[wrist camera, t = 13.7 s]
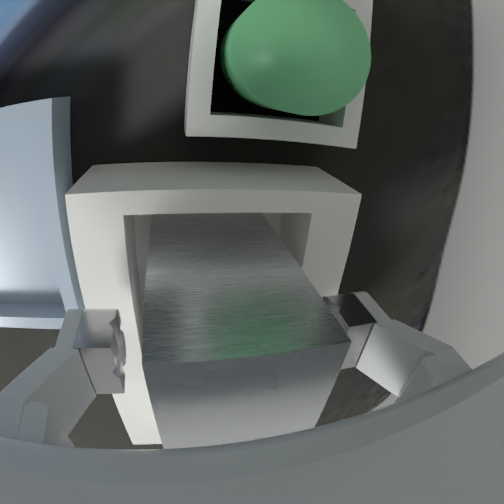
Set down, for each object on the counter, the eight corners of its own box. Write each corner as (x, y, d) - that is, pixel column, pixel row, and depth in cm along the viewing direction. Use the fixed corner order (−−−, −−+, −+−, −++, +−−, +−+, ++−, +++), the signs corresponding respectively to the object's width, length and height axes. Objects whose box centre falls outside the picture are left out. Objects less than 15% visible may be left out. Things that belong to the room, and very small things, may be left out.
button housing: (198, -19, 8) (203, -38, 6) (346, 8, 10) (372, 0, 8) (183, 129, 11) (186, 136, 9) (331, 139, 12) (356, 149, 11)
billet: (152, 212, 11) (141, 364, 5) (260, 211, 12) (351, 341, 6) (158, 304, 13) (167, 459, 7) (251, 299, 14) (307, 439, 8)
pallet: (92, 165, 11) (64, 194, 8) (316, 166, 13) (362, 194, 10) (132, 394, 17) (132, 444, 14) (275, 382, 19) (292, 427, 16)
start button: (225, 0, 8) (244, -28, 6) (330, 20, 9) (375, 6, 7) (215, 104, 10) (230, 108, 8) (320, 114, 11) (362, 125, 9)
